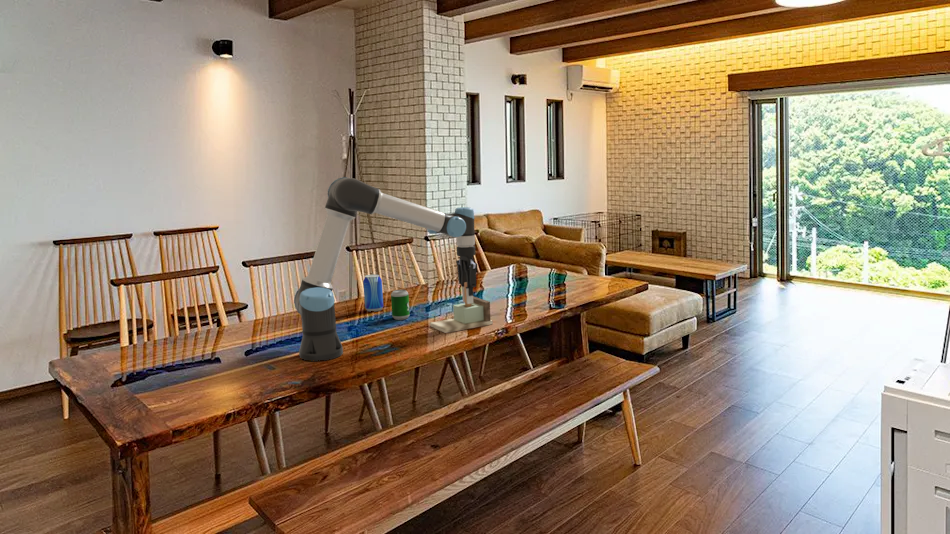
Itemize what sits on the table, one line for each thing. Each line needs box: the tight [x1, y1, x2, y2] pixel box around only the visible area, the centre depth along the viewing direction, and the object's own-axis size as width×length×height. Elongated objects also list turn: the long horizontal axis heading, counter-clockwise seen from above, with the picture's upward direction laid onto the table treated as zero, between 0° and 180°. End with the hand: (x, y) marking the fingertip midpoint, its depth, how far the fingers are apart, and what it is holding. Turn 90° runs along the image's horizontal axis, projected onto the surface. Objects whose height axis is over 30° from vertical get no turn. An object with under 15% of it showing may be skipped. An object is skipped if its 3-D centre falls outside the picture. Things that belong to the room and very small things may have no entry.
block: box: [452, 302, 484, 324], centre depth 262 cm, size 9×9×6 cm
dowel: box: [464, 282, 471, 307], centre depth 261 cm, size 3×3×12 cm
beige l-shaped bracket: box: [429, 296, 494, 334], centre depth 260 cm, size 22×13×10 cm, turn 120°
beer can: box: [362, 274, 384, 312], centre depth 293 cm, size 8×8×16 cm
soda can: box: [390, 289, 411, 321], centre depth 276 cm, size 8×8×12 cm
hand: (468, 302), depth 261 cm, fingers open, 3 cm apart
